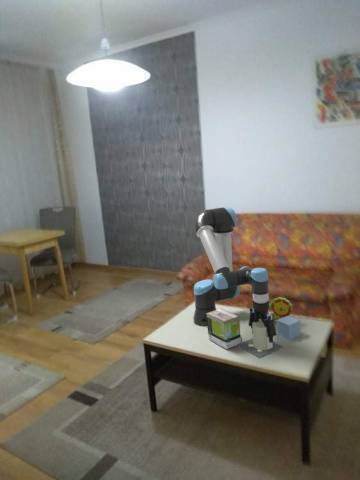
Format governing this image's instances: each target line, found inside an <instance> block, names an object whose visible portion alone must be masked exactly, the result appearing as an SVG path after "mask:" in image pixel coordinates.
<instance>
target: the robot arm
mask: <svg viewBox="0 0 360 480" xmlns="http://www.w3.org/2000/svg"><path fill="white" fill-rule="evenodd" d="M237 224H238V219H237V214H236V213H235V210H234V209H233V208H231V207H230V206H228V207H227V206H225V207H216V208H211V209H204V210H202V211H200V212H199V213H198V215H197V216H196V218H195V220H194V231H195V235H196V236H197V237H198V238H200V242H201V244H202V246H203V248H204V251H205V253H206V255H207V258H208V260H209V263H210V265H211V268H212V269H213V272H214V275H213V278H212V279H203V280H200V281H198V282H196V283H195V284H194V285H193V296H194V306H195V308H194V314H193V323H194V324H195V325H197V326H200V327H201V326H202V327H204V326H205V327H208V325H207V314H206V313H209V312H212V311H215V310H217V308H216V303H218V302H222V301H227V300H232V299H235V298H238V296H239V295H240V293H241V286H244V285H249V286H251V293H252V307H251V308H249V321H248V327H251V329H252V330H251V331H252V334H253V326H252V323H253V322H258V321H259V320H262V322H263V323H264V326H265V327H266V328H267V334H268V336H267V349H270V348H272V347H273V344H272V342H273V341H274V337H275V336H277V329H276V326H275V321H274V320H273V319H274V316H273V315H270V314H271V313H269V309H270V308H269V304H270V302H269V275H268V270H267V269H266V268H264V267H263V268H262V267H255V268H252V267H251V266H250V267H249V266H242V267H241V268H239V269H236V270H233V251H232V249H233V248H232V233H234V228H235V227H237ZM265 319H266V320H265Z"/></svg>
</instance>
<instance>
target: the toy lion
mask: <svg viewBox="0 0 360 480" xmlns="http://www.w3.org/2000/svg"><path fill="white" fill-rule="evenodd" d="M269 309H270V310H272V311H273V312H271V313H269V314H270V315H273V316H274V319H273V320H274V322H277V320H279V319H281V318H283V317H286V316H289V317H290V315H291V313H292V312H293V304H292V302H291V301H290V300H289V299H287V298H286V297H283V296H282V297H281V296H278V297H275V298H274V299H273V300H272V301H271V303H270V302H269ZM265 320H266V319H265Z"/></svg>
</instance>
